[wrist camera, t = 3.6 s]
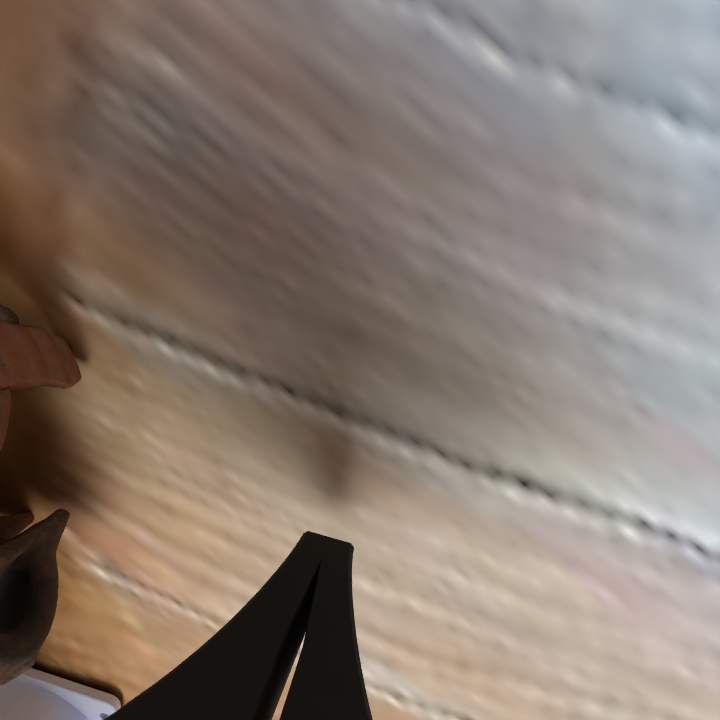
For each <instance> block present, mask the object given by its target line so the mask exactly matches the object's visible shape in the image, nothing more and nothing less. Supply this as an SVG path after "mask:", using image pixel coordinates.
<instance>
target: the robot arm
mask: <svg viewBox="0 0 720 720" xmlns="http://www.w3.org/2000/svg"><path fill="white" fill-rule="evenodd" d="M353 551H354V547H353V545H352V544H351V543H348V542H345V541H341V540H338V539H334V538H331V537H327V536H324V535H320V534H317V533H313V532H310V531H307V532H305V533H303V535H302V537H301V538H300V540H299V542H298V543H297V545H296V546H295V547H294V549H293V550H292V552H291V553H290V554H289V556H288V557H287V558H286V559H285V561H284V562H283V563H282V565H281V566H280V567H279V568H278V569H277V571H276V572H275V573H274V574H273V575H272V576H271V578H270V579H269V580H268V581H267V582H266V583H265V585H264V586H263V587H262V588H261V589H260V590H259V591H258V592H257V593H256V594H255V596H254V597H253V598H252V599H251V600H250V601H249V602H248V603H247V604H246V605H245V606H244V607H243V608H242V609H241V610H240V611H239V612H238V613H237V614H236V615H235V616H234V617H233V618H232V619H231V620H230V621H229V622H228V623H227V624H226V625H225V626H224V627H223V628H221V629H220V630H219V631H218V632H217V633H216V634H215V635H214V636H213V637H212V638H210V639H209V640H208V641H207V642H206V643H205V644H204V645H202V646H201V647H200V648H199V649H198V650H197V651H195V652H194V653H193V654H192V655H190V656H189V657H188V658H187V659H186V660H184V661H183V662H182V663H181V664H180V665H178V666H177V667H176V668H175V669H173V670H172V671H171V672H169V673H168V674H167V675H166V676H164V677H163V678H162V679H160V680H159V681H158V682H156V683H155V684H154V685H152V686H151V687H149V688H148V689H147V690H145V691H144V692H142V693H141V694H140V695H138V696H137V697H135V698H134V699H133V700H131V701H130V702H128V703H127V704H126V705H124V706H123V707H121V704H120V701H119V699H118V698H117V697H115V696H114V695H112V694H109V693H106V692H103V691H100V690H97V689H94V688H91V687H88V686H85V685H82V684H79V683H76V682H73V681H70V680H67V679H64V678H61V677H58V676H55V675H52V674H49V673H46V672H43V671H40V670H37V669H34V668H30V669H29V670H27V671H26V672H24V673H23V674H21V675H20V676H18V677H17V678H15V679H13V680H11V681H10V682H8V683H6V684H4V685H0V720H272V717H273V714H274V712H275V709H276V707H277V704H278V702H279V699H280V697H281V694H282V691H283V689H284V686H285V684H286V681H287V679H288V676H289V673H290V671H291V668H292V666H293V663H294V661H295V658H296V655H297V653H298V650H299V648H300V645H301V643H302V640H303V637H304V635H305V639H304V644H303V648H302V651H301V654H300V657H299V660H298V664H297V667H296V670H295V673H294V676H293V679H292V682H291V686H290V689H289V692H288V695H287V698H286V701H285V704H284V707H283V710H282V714H281V717H280V720H372V715H371V711H370V707H369V703H368V698H367V694H366V689H365V684H364V679H363V674H362V669H361V663H360V657H359V651H358V644H357V637H356V629H355V620H354V609H353V598H352V558H353ZM305 632H306V634H305Z"/></svg>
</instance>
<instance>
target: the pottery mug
mask: <svg viewBox="0 0 720 720" xmlns="http://www.w3.org/2000/svg"><path fill="white" fill-rule="evenodd" d="M80 379H81V374H80V370H79V367H78V364H77V362H76V360H75V357H74V355H73V353H72V350H71V349H70V347H69V345H68V344H67V342H66V340H64V339H62V338H61V337H59V336H56V335H53V334H50V333H48V332H47V331H46V330H45V329H44V328H43V327H24V326H20V325H19V319H18V316H17V315H16V314H15V313H14V312H13V311H11V310H10V309H9V308H7V307H5V306H2V305H0V451H1V448H2V446H3V444H4V441H5V437H6V433H7V430H8V424H9V419H10V410H11V400H12V396H11V394H10V392H11V391H17V390H21V389H27V388H32V387H36V386H49V387H56V388H62V389H66V388H70V387H72V386H73V385H75V384H76V383H77V382H79V381H80ZM69 516H70V513H69V512H68V511H66V510H64V509H58V510H56V511H55V512H54V513H52V514H51V515H50V516H48V517H47V518H46V519H44V520H42V521H40V522H38V523H36V524H34V525H33V526H31V527H30V528H28V529H27V530H25V531H24V532H22V533H20V532H21V531H22V530H24V529H25V528H26V527H27V526H28V525H30V524H31V523H32V522H33V515H32V514H31V513H23V514H17V515H11V516H5V515H4V516H0V685H4V684H6V683H8V682H10V681H11V680H13V679H15V678H17V677H18V676H20V675H21V674H23V673H24V672H26V671H27V670H29V669H30V668H31V667H32V666H33V665H34V663H35V661H36V657H37V653H38V651H39V649H40V647H41V646H42V644H43V643H44V641H45V639H46V637H47V635H48V633H49V631H50V628H51V625H52V623H53V620H54V616H55V612H56V606H57V599H58V569H57V561H56V550H57V547H58V544H59V541H60V538H61V536H62V533H63V531H64V529H65V527H66V524H67V521H68V519H69ZM19 533H20V534H19ZM17 534H18V535H17Z"/></svg>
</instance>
